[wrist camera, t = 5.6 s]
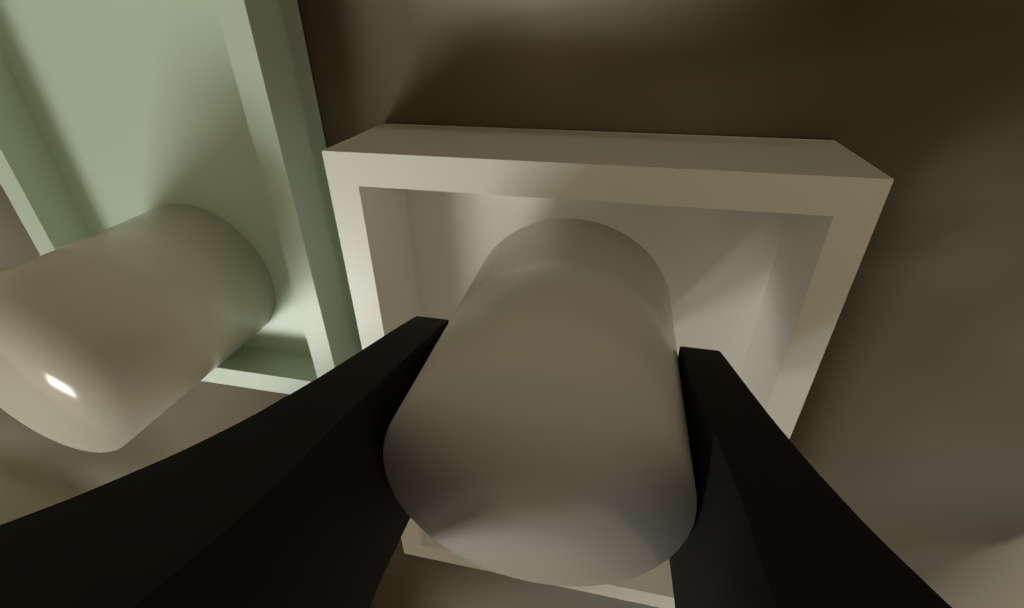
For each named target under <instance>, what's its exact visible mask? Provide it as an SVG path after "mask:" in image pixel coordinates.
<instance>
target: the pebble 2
mask: <svg viewBox="0 0 1024 608" xmlns="http://www.w3.org/2000/svg"><path fill="white" fill-rule="evenodd" d="M383 458H384V467H385V471H386V475H387V479H388V481H389V484H390V486H391V489H392V491H393V493H394V494H395V496H396V498H397V500H398V501H399V503H400V504H401V506H402V507H403V508H404V510H405V511H406V512H407V514H408V515H409V516H410V517H411V518H412V519H413V520H414V521H415V523H416V524H417V525H418V526H419V527H420V528H421V529H423V530H424V531H425V532H426V533H427V534H428V535H429V536H431V537H432V538H433V539H435V540H436V541H437V542H439V543H440V544H441V545H443V546H444V547H446V548H447V549H449V550H450V551H452V552H454V553H455V554H457V555H459V556H460V557H462V558H464V559H466V560H468V561H470V562H472V563H474V564H476V565H479V566H481V567H484V568H486V569H488V570H491V571H494V572H497V573H499V574H502V575H505V576H509V577H512V578H516V579H520V580H524V581H529V582H534V583H540V584H547V585H556V586H576V587H577V586H596V585H603V584H611V583H615V582H619V581H624V580H628V579H630V578H633V577H636V576H639V575H642V574H644V573H646V572H648V571H650V570H652V569H654V568H656V567H658V566H659V565H661V564H662V563H664V562H665V561H667V560H668V559H669V558H670V557H671V556H672V555H673V554H674V553H676V552H677V551H678V550H679V548H680V547H681V546H682V544H683V543H684V542H685V540H686V539H687V537H688V535H689V533H690V531H691V529H692V527H693V524H694V520H695V516H696V509H697V495H696V488H695V480H694V473H693V465H692V458H691V450H690V443H689V435H688V428H687V420H686V413H685V406H684V399H683V391H682V384H681V376H680V369H679V361H678V353H677V346H676V338H675V331H674V323H673V316H672V308H671V301H670V295H669V289H668V286H667V283H666V280H665V278H664V276H663V274H662V272H661V270H660V268H659V266H658V265H657V264H656V262H655V261H654V259H653V258H652V257H651V256H650V255H649V254H648V252H647V251H646V250H645V249H644V248H643V247H642V246H640V245H639V244H638V243H637V242H635V241H634V240H633V239H632V238H630V237H628V236H627V235H625V234H623V233H622V232H620V231H618V230H616V229H613V228H611V227H609V226H606V225H603V224H600V223H597V222H593V221H588V220H582V219H568V218H562V219H550V220H545V221H541V222H536V223H533V224H531V225H528V226H525V227H523V228H521V229H519V230H517V231H515V232H513V233H512V234H510V235H509V236H507V237H506V238H504V239H503V240H502V241H501V242H500V243H499V244H498V245H497V246H495V247H494V248H493V250H492V251H491V252H490V254H489V255H488V256H487V257H486V259H485V261H484V263H483V264H482V266H481V268H480V269H479V271H478V273H477V275H476V276H475V278H474V280H473V282H472V283H471V285H470V287H469V288H468V290H467V292H466V294H465V295H464V297H463V299H462V300H461V302H460V304H459V306H458V307H457V309H456V311H455V313H454V314H453V316H452V318H451V319H450V321H449V323H448V325H447V326H446V328H445V330H444V331H443V333H442V335H441V337H440V338H439V340H438V342H437V344H436V345H435V347H434V349H433V350H432V352H431V354H430V356H429V357H428V359H427V361H426V363H425V364H424V366H423V368H422V369H421V371H420V373H419V375H418V376H417V378H416V380H415V381H414V383H413V385H412V387H411V388H410V390H409V392H408V394H407V395H406V397H405V399H404V400H403V402H402V404H401V406H400V407H399V409H398V411H397V412H396V414H395V416H394V418H393V420H392V421H391V423H390V425H389V427H388V430H387V433H386V436H385V439H384V448H383Z"/></svg>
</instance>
